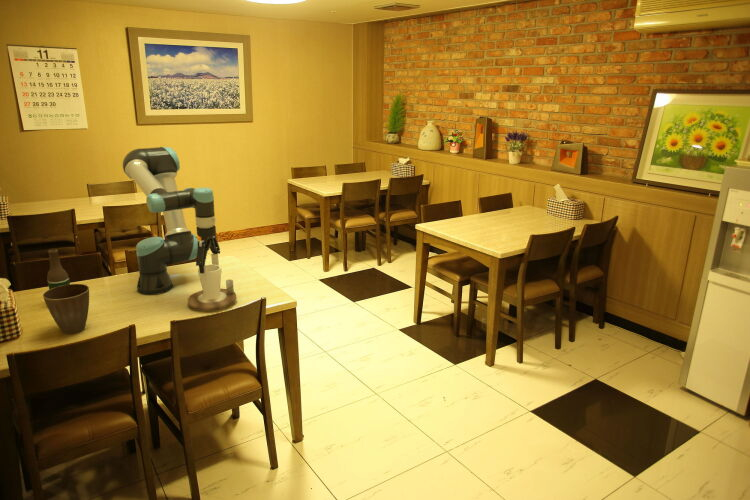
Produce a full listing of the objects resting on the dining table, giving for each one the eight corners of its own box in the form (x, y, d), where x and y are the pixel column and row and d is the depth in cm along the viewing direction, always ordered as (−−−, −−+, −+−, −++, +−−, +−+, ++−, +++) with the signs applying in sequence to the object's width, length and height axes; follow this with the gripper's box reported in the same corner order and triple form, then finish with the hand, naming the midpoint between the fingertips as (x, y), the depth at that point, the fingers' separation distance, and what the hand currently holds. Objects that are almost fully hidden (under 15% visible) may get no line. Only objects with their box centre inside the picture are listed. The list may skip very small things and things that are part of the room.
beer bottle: (53, 301, 220) (43, 248, 213) (74, 298, 223) (64, 246, 216) (50, 308, 213) (40, 253, 206) (71, 305, 216) (62, 251, 209)
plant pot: (58, 343, 185) (50, 302, 180) (44, 330, 194) (36, 291, 190) (101, 329, 196) (95, 291, 191) (86, 318, 205) (80, 280, 200)
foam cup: (216, 302, 215) (213, 273, 211) (196, 299, 217) (193, 271, 213) (227, 293, 223) (225, 265, 219) (208, 291, 225) (205, 263, 221)
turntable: (195, 314, 207) (194, 297, 205) (182, 297, 223) (180, 281, 220) (243, 303, 218) (242, 287, 216) (227, 288, 234) (226, 273, 231)
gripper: (202, 235, 198) (207, 285, 205) (225, 218, 222) (228, 264, 228) (184, 234, 199) (188, 284, 205) (208, 217, 222) (212, 263, 229)
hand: (209, 273), depth 217 cm, fingers open, 13 cm apart
